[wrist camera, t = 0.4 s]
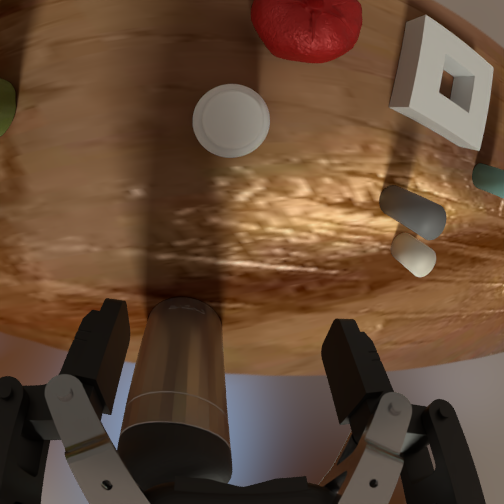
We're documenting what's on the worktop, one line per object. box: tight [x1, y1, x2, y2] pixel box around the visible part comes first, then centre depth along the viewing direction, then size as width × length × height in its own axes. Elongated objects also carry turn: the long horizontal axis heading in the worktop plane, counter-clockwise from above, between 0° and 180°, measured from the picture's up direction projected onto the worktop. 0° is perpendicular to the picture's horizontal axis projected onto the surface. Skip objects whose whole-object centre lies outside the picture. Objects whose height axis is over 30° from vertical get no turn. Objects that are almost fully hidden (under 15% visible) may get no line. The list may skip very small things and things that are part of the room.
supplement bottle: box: [193, 84, 270, 158], centre depth 22 cm, size 6×6×10 cm
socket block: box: [389, 15, 493, 151], centre depth 25 cm, size 12×12×4 cm
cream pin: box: [391, 233, 436, 277], centre depth 33 cm, size 4×4×5 cm
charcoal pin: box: [379, 185, 446, 240], centre depth 29 cm, size 4×4×8 cm
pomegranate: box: [251, 0, 362, 63], centre depth 19 cm, size 10×10×9 cm
